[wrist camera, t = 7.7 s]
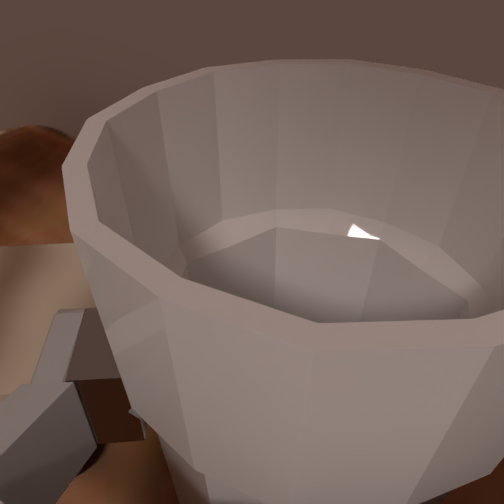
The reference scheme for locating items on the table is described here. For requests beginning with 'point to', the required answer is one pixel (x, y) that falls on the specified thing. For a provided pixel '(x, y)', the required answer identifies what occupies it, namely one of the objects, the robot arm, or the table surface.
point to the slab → (35, 304)
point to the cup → (303, 276)
